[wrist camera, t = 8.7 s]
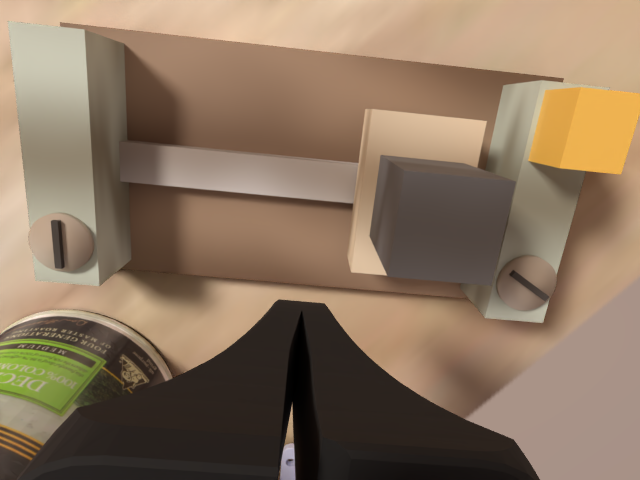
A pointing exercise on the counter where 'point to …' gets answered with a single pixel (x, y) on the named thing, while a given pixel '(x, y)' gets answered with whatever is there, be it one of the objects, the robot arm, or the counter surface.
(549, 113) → the button
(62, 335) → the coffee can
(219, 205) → the rail board
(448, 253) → the carriage
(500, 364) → the counter surface
